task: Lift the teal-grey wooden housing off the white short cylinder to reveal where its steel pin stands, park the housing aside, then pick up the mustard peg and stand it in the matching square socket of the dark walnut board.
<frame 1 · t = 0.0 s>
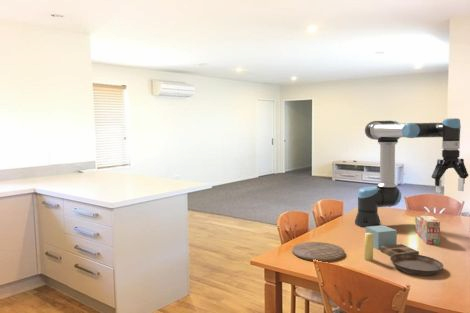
hand: (449, 191, 187), 28 cm above the table, fingers open, 13 cm apart
socket board: (399, 254, 178), on the table
plant saucer: (415, 268, 160), on the table
peg: (368, 259, 172), on the table
housing: (380, 245, 192), on the table
printed food box: (426, 239, 202), on the table
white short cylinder: (380, 245, 192), on the table
trivet: (318, 254, 182), on the table
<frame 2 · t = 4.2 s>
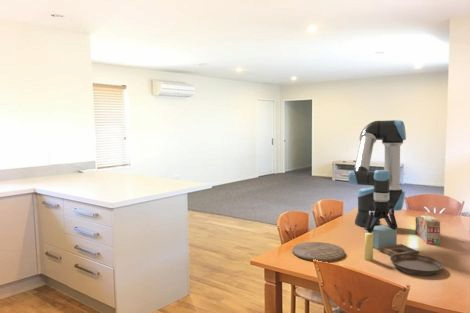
hand: (380, 242, 192), 1 cm above the table, fingers closed on housing, 11 cm apart
housing: (380, 245, 192), on the table, touching gripper
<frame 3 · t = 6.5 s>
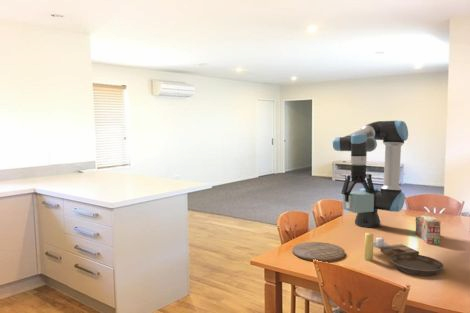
hand: (358, 207, 190), 20 cm above the table, fingers closed on housing, 11 cm apart
housing: (358, 210, 190), point 19 cm above the table, touching gripper
when the fingers open (2 cm above the table, at t = 9.2 s): housing stays where it is, on the table.
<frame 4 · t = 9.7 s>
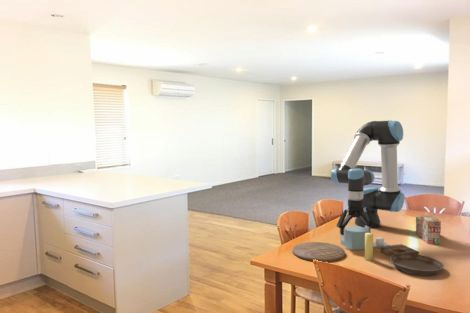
hand: (355, 239, 191), 3 cm above the table, fingers open, 13 cm apart
housing: (355, 245, 191), on the table
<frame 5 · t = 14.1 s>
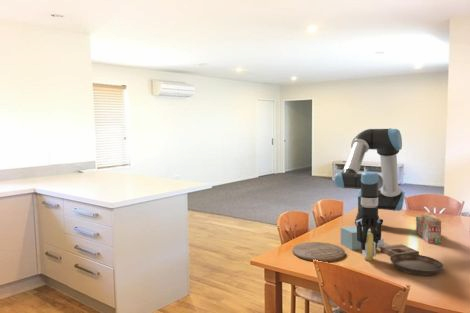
hand: (368, 255, 172), 2 cm above the table, fingers closed on peg, 3 cm apart
peg: (368, 259, 172), on the table, touching gripper
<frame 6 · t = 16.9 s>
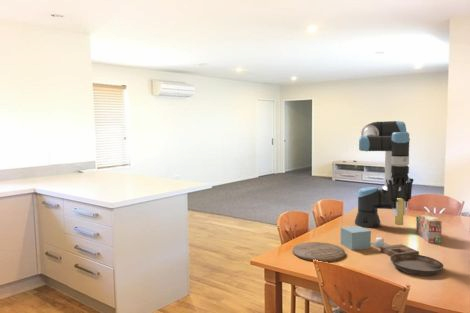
hand: (399, 214, 174), 20 cm above the table, fingers closed on peg, 3 cm apart
peg: (399, 224, 174), point 15 cm above the table, touching gripper
when the fingers open (4 cm above the table, at t = 20.0 s): peg stays where it is, resting in socket board.
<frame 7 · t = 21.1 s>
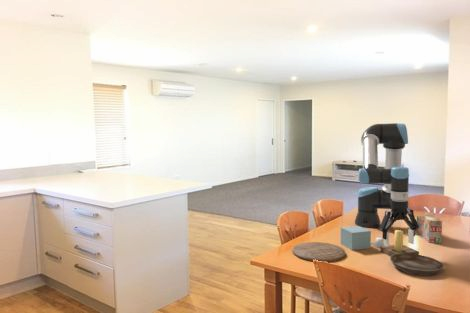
hand: (398, 244, 175), 5 cm above the table, fingers open, 13 cm apart
peg: (398, 255, 176), resting in socket board
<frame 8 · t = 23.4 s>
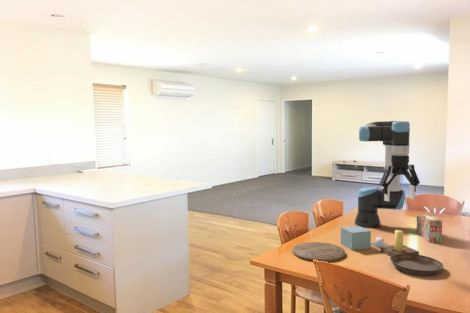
hand: (399, 200, 174), 27 cm above the table, fingers open, 13 cm apart
at the end: peg 0.1 cm from the target spot on the socket board, point 0.0 cm above the socket board's base; peg tilted 0°; housing moved 13.3 cm from its start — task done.
